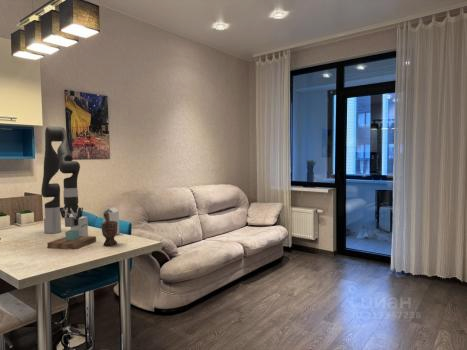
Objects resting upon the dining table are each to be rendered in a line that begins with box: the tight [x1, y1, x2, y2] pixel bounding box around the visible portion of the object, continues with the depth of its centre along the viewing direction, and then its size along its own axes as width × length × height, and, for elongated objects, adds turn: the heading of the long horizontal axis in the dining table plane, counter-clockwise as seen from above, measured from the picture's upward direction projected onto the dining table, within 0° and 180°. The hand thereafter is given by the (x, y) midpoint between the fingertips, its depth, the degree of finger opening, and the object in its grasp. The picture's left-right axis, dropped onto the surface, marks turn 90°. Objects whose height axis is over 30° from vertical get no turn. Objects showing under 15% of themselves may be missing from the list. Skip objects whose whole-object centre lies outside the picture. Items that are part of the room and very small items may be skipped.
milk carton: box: [102, 204, 120, 236], centre depth 215 cm, size 7×7×19 cm
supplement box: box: [70, 215, 89, 236], centre depth 210 cm, size 7×7×13 cm
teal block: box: [64, 229, 79, 241], centre depth 190 cm, size 5×5×5 cm
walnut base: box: [46, 235, 97, 250], centre depth 191 cm, size 18×18×3 cm
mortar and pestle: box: [100, 211, 118, 247], centre depth 187 cm, size 12×9×20 cm
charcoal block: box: [64, 216, 79, 228], centre depth 190 cm, size 5×5×5 cm
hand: (71, 225), depth 190 cm, fingers closed on charcoal block, 5 cm apart
